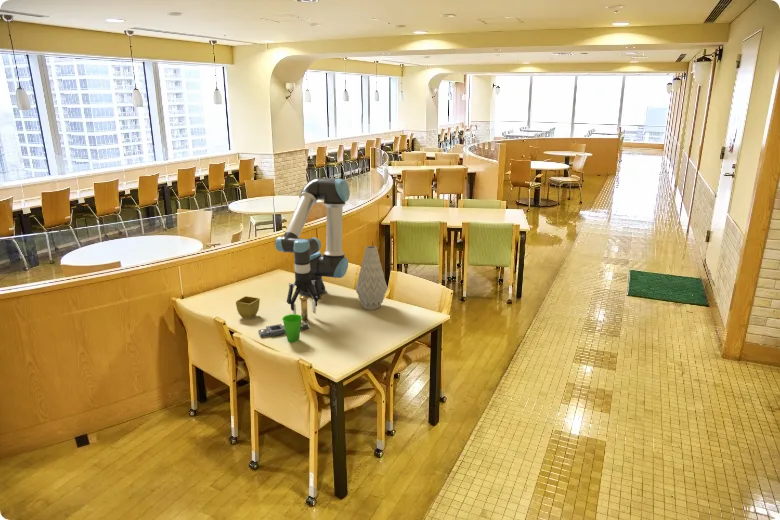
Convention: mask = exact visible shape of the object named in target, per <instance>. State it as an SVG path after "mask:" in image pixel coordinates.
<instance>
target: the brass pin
mask: <svg viewBox="0 0 780 520" xmlns="http://www.w3.org/2000/svg"><path fill="white" fill-rule="evenodd" d="M308 299H309V296H305V295H304V296H302V295H300V296H299V300H300V313H301V314H300V315H301V316H302V321H301V322H307V321H308V320H309V315H308V314H309V313H308Z"/></svg>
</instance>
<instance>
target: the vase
mask: <svg viewBox="0 0 780 520" xmlns="http://www.w3.org/2000/svg"><path fill="white" fill-rule="evenodd" d="M362 257H363V258H362V262H361V266H360V269H359V274H358V278H357V282H356V285H355V291H356V293H357V295H358V296H357V297H358V300H359V302H360V303H361V305H362V307H363V309H365V310H369V311H370V310H378V309H379V308H380V307H381V306H382V303H383V301H384V299H385V295H386V293H387V291H388V285H387V282H386V279H385V273H384V271H383V267H382V263H381V260H380V255H379V251H378V248H377V246H376V245H368V246H367V245H366V246H365V249H364V253H363V256H362Z"/></svg>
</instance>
